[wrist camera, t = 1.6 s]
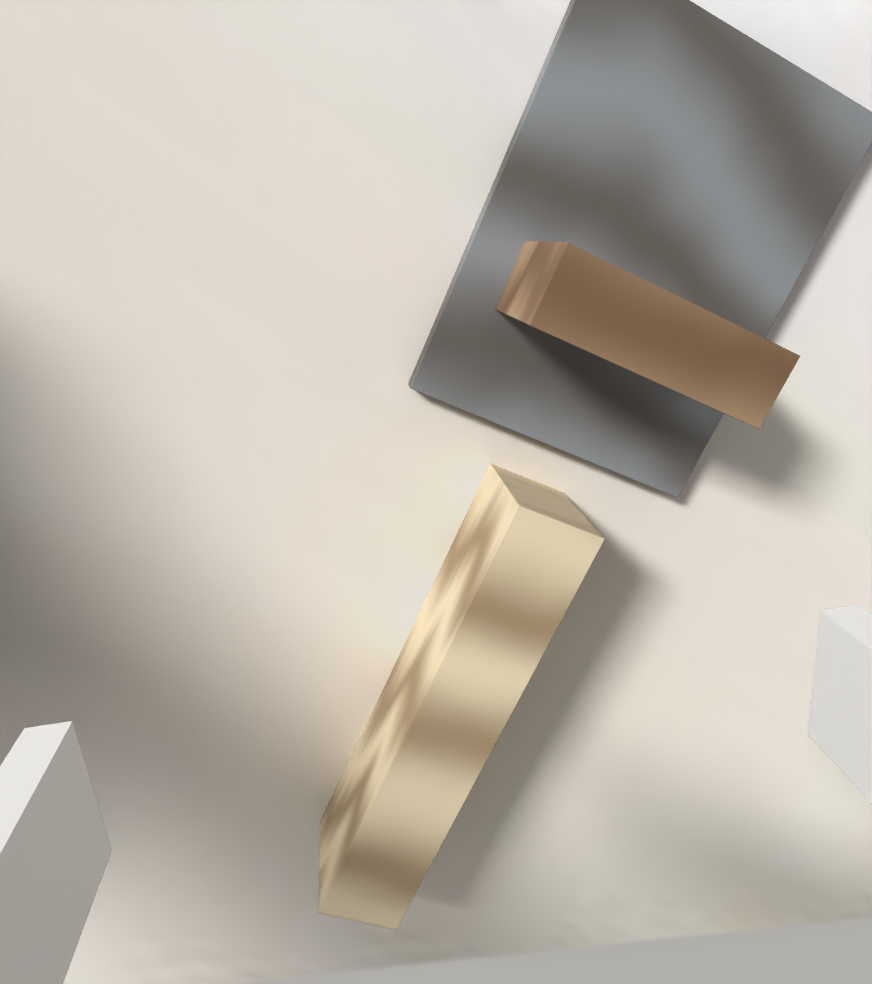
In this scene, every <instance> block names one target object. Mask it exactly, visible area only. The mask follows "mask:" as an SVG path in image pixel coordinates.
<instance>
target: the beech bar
mask: <svg viewBox="0 0 872 984" xmlns="http://www.w3.org/2000/svg"><path fill="white" fill-rule="evenodd" d="M603 541H604V538H603V536H602V535H601V534H600V533H599V532H598V531H597V530H596V529H595V527H594V526H593V525H592V524H591V523H590V522H589V521H588V520H587V518H586V517H585V516H584V515H583V514H582V513H581V512H580V511H579V509H578V508H577V507H576V506H575V505H574V504H573V503H572V502H571V500H570V499H569V498H568V497H567V496H566V495H565V494H564V493H563V492H560V491H558V490H555V489H553V488H550V487H548V486H545V485H543V484H540V483H538V482H535V481H533V480H530V479H528V478H525V477H523V476H520V475H518V474H515V473H513V472H510V471H508V470H505V469H503V468H500V467H498V466H495V465H493V464H490V466H489V468H488V470H487V472H486V474H485V476H484V478H483V480H482V482H481V485H480V487H479V489H478V491H477V493H476V495H475V497H474V499H473V501H472V504H471V506H470V508H469V510H468V512H467V514H466V516H465V518H464V520H463V522H462V525H461V527H460V529H459V531H458V533H457V535H456V537H455V539H454V541H453V544H452V546H451V548H450V550H449V552H448V554H447V556H446V558H445V560H444V562H443V565H442V567H441V569H440V571H439V573H438V575H437V577H436V579H435V581H434V584H433V586H432V588H431V590H430V592H429V594H428V596H427V598H426V600H425V602H424V605H423V607H422V609H421V611H420V613H419V615H418V617H417V619H416V621H415V624H414V626H413V628H412V630H411V632H410V634H409V636H408V638H407V640H406V642H405V645H404V647H403V649H402V651H401V653H400V655H399V657H398V659H397V661H396V664H395V666H394V668H393V670H392V672H391V674H390V676H389V678H388V680H387V682H386V685H385V687H384V689H383V691H382V693H381V695H380V697H379V699H378V701H377V704H376V706H375V708H374V710H373V712H372V714H371V716H370V718H369V720H368V722H367V725H366V727H365V729H364V731H363V733H362V735H361V737H360V739H359V741H358V744H357V746H356V748H355V750H354V752H353V754H352V756H351V758H350V760H349V762H348V765H347V767H346V769H345V771H344V773H343V775H342V777H341V779H340V781H339V784H338V786H337V788H336V790H335V792H334V794H333V796H332V798H331V800H330V803H329V805H328V807H327V809H326V811H325V813H324V815H323V817H322V819H321V821H320V855H319V902H318V913H321V914H326V915H331V916H335V917H340V918H345V919H349V920H354V921H358V922H363V923H368V924H372V925H377V926H381V927H386V928H391V929H395V930H396V929H397V927H398V925H399V923H400V921H401V919H402V917H403V916H404V914H405V912H406V910H407V908H408V906H409V904H410V902H411V901H412V899H413V897H414V895H415V893H416V891H417V889H418V888H419V886H420V884H421V882H422V880H423V878H424V876H425V874H426V873H427V871H428V869H429V867H430V865H431V863H432V861H433V859H434V858H435V856H436V854H437V852H438V850H439V848H440V846H441V844H442V843H443V841H444V839H445V837H446V835H447V833H448V831H449V829H450V828H451V826H452V824H453V822H454V820H455V818H456V816H457V815H458V813H459V811H460V809H461V807H462V805H463V803H464V801H465V800H466V798H467V796H468V794H469V792H470V790H471V788H472V786H473V785H474V783H475V781H476V779H477V777H478V775H479V773H480V771H481V770H482V768H483V766H484V764H485V762H486V760H487V758H488V756H489V755H490V753H491V751H492V749H493V747H494V745H495V743H496V741H497V740H498V738H499V736H500V734H501V732H502V730H503V728H504V727H505V725H506V723H507V721H508V719H509V717H510V715H511V713H512V712H513V710H514V708H515V706H516V704H517V702H518V700H519V698H520V697H521V695H522V693H523V691H524V689H525V687H526V685H527V683H528V682H529V680H530V678H531V676H532V674H533V672H534V670H535V668H536V667H537V665H538V663H539V661H540V659H541V657H542V655H543V654H544V652H545V650H546V648H547V646H548V644H549V642H550V640H551V639H552V637H553V635H554V633H555V631H556V629H557V627H558V625H559V624H560V622H561V620H562V618H563V616H564V614H565V612H566V610H567V609H568V607H569V605H570V603H571V601H572V599H573V597H574V595H575V594H576V592H577V590H578V588H579V586H580V584H581V582H582V580H583V579H584V577H585V575H586V573H587V571H588V569H589V567H590V566H591V564H592V562H593V560H594V558H595V556H596V554H597V552H598V551H599V549H600V547H601V545H602V543H603Z"/></svg>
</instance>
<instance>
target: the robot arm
mask: <svg viewBox="0 0 872 984" xmlns="http://www.w3.org/2000/svg"><path fill="white" fill-rule="evenodd" d="M808 737H809V738H810V739H811V740H812V741H813V742H814V743H815V744H816V745H817V746H818V747H819V748H820V749H821V750H822V752H823V753H824V754H825V755H826V756H827V757H828V758H829V759H830V760H831V761H832V762H833V763H834V764H835V765H836V766H837V767H838V769H839V770H840V771H841V772H842V773H843V774H844V775H845V776H846V777H847V778H848V779H849V780H850V781H851V782H852V783H853V785H854V786H855V787H856V788H857V789H858V790H859V791H860V792H861V793H862V794H863V795H864V796H865V797H866V798H867V799H868V800H869V802H870V803H871V804H872V613H871V612H870V611H869V610H867V609H866V608H864V607H863V606H861V605H860V604H858V605H851V606H845V607H838V608H831V609H825V610H820V616H819V627H818V637H817V647H816V657H815V667H814V678H813V688H812V698H811V708H810V718H809V729H808ZM111 851H112V849H111V846H110V842H109V839H108V836H107V833H106V829H105V826H104V823H103V820H102V816H101V813H100V810H99V806H98V803H97V800H96V797H95V793H94V790H93V787H92V784H91V780H90V777H89V774H88V770H87V767H86V764H85V761H84V757H83V754H82V751H81V748H80V744H79V741H78V738H77V734H76V731H75V728H74V725H73V721H69V722H62V723H55V724H49V725H42V726H35V727H29V728H24V729H23V731H22V733H21V734H20V736H19V737H18V739H17V740H16V742H15V744H14V745H13V747H12V748H11V750H10V752H9V753H8V755H7V756H6V758H5V759H4V761H3V763H2V764H1V766H0V984H63V982H64V979H65V977H66V974H67V971H68V969H69V966H70V963H71V960H72V958H73V955H74V952H75V949H76V947H77V944H78V941H79V938H80V936H81V933H82V930H83V927H84V925H85V922H86V919H87V917H88V914H89V911H90V908H91V906H92V903H93V900H94V897H95V895H96V892H97V889H98V886H99V884H100V881H101V878H102V875H103V873H104V870H105V867H106V865H107V862H108V859H109V856H110V854H111Z"/></svg>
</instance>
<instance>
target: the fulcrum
mask: <svg viewBox="0 0 872 984" xmlns="http://www.w3.org/2000/svg"><path fill="white" fill-rule="evenodd" d="M871 143H872V112H871V111H869V110H868V109H866V108H865V107H863V106H861V105H860V104H858V103H856V102H855V101H853V100H851V99H850V98H848V97H847V96H845V95H843V94H842V93H840V92H838V91H837V90H835V89H833V88H832V87H830V86H829V85H827V84H825V83H824V82H822V81H820V80H819V79H817V78H815V77H814V76H812V75H811V74H809V73H807V72H806V71H804V70H802V69H801V68H799V67H797V66H796V65H794V64H793V63H791V62H789V61H788V60H786V59H784V58H783V57H781V56H779V55H778V54H776V53H775V52H773V51H771V50H770V49H768V48H766V47H765V46H763V45H761V44H760V43H758V42H757V41H755V40H753V39H752V38H750V37H748V36H747V35H745V34H743V33H742V32H740V31H739V30H737V29H735V28H734V27H732V26H730V25H729V24H727V23H725V22H724V21H722V20H721V19H719V18H717V17H716V16H714V15H712V14H711V13H709V12H707V11H706V10H704V9H703V8H701V7H699V6H698V5H696V4H694V3H693V2H691V1H689V0H571V1H570V4H569V6H568V8H567V11H566V13H565V16H564V18H563V20H562V23H561V25H560V27H559V30H558V32H557V34H556V37H555V39H554V41H553V44H552V46H551V49H550V51H549V53H548V56H547V58H546V60H545V63H544V65H543V67H542V70H541V72H540V74H539V77H538V79H537V82H536V84H535V86H534V89H533V91H532V93H531V96H530V98H529V100H528V103H527V105H526V108H525V110H524V112H523V115H522V117H521V119H520V122H519V124H518V126H517V129H516V131H515V133H514V136H513V138H512V141H511V143H510V145H509V148H508V150H507V152H506V155H505V157H504V159H503V162H502V164H501V166H500V169H499V171H498V174H497V176H496V178H495V181H494V183H493V185H492V188H491V190H490V192H489V195H488V197H487V200H486V202H485V204H484V207H483V209H482V211H481V214H480V216H479V218H478V221H477V223H476V225H475V228H474V230H473V233H472V235H471V237H470V240H469V242H468V244H467V247H466V249H465V251H464V254H463V256H462V258H461V261H460V263H459V266H458V268H457V270H456V273H455V275H454V277H453V280H452V282H451V284H450V287H449V289H448V292H447V294H446V296H445V299H444V301H443V303H442V306H441V308H440V310H439V313H438V315H437V317H436V320H435V322H434V325H433V327H432V329H431V332H430V334H429V336H428V339H427V341H426V343H425V346H424V348H423V350H422V353H421V355H420V358H419V360H418V362H417V365H416V367H415V369H414V372H413V374H412V376H411V379H410V381H409V386H410V388H411V389H413V390H416V391H418V392H421V393H423V394H426V395H428V396H431V397H433V398H435V399H438V400H440V401H443V402H445V403H448V404H450V405H453V406H455V407H457V408H460V409H462V410H465V411H467V412H470V413H472V414H475V415H477V416H479V417H482V418H484V419H487V420H489V421H492V422H494V423H497V424H499V425H501V426H504V427H506V428H509V429H511V430H514V431H516V432H519V433H521V434H523V435H526V436H528V437H531V438H533V439H536V440H538V441H541V442H543V443H545V444H548V445H550V446H553V447H555V448H558V449H560V450H563V451H565V452H567V453H570V454H572V455H575V456H577V457H580V458H582V459H585V460H587V461H590V462H592V463H594V464H597V465H599V466H602V467H604V468H607V469H609V470H612V471H614V472H616V473H619V474H621V475H624V476H626V477H629V478H631V479H634V480H636V481H638V482H641V483H643V484H646V485H648V486H651V487H653V488H656V489H658V490H660V491H663V492H665V493H668V494H670V495H673V496H675V497H678V496H679V494H680V492H681V490H682V488H683V487H684V485H685V483H686V481H687V479H688V477H689V476H690V474H691V472H692V470H693V468H694V466H695V465H696V463H697V461H698V459H699V457H700V455H701V454H702V452H703V450H704V448H705V446H706V445H707V443H708V441H709V439H710V437H711V435H712V434H713V432H714V430H715V428H716V426H717V424H718V423H719V421H720V419H721V417H722V415H723V413H725V414H728V415H730V416H732V417H734V418H737V419H739V420H741V421H743V422H745V423H748V424H750V425H752V426H754V427H756V428H760V426H761V425H762V423H763V421H764V419H765V418H766V416H767V414H768V412H769V410H770V409H771V407H772V405H773V403H774V402H775V400H776V398H777V396H778V395H779V393H780V391H781V389H782V387H783V386H784V384H785V382H786V380H787V379H788V377H789V375H790V373H791V371H792V370H793V368H794V366H795V364H796V363H797V361H798V359H799V357H800V356H799V355H797V354H795V353H793V352H791V351H789V350H787V349H785V348H783V347H781V346H779V345H777V344H775V343H773V342H771V341H769V340H767V339H765V337H766V335H767V333H768V331H769V329H770V328H771V326H772V324H773V322H774V320H775V318H776V317H777V315H778V313H779V311H780V309H781V307H782V306H783V304H784V302H785V300H786V298H787V296H788V295H789V293H790V291H791V289H792V287H793V285H794V284H795V282H796V280H797V278H798V276H799V275H800V273H801V271H802V269H803V267H804V265H805V264H806V262H807V260H808V258H809V256H810V254H811V253H812V251H813V249H814V247H815V245H816V243H817V242H818V240H819V238H820V236H821V234H822V232H823V231H824V229H825V227H826V225H827V223H828V221H829V220H830V218H831V216H832V214H833V212H834V211H835V209H836V207H837V205H838V203H839V201H840V200H841V198H842V196H843V194H844V192H845V190H846V189H847V187H848V185H849V183H850V181H851V179H852V178H853V176H854V174H855V172H856V170H857V168H858V167H859V165H860V163H861V161H862V159H863V158H864V156H865V154H866V152H867V150H868V148H869V147H870V145H871Z"/></svg>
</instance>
